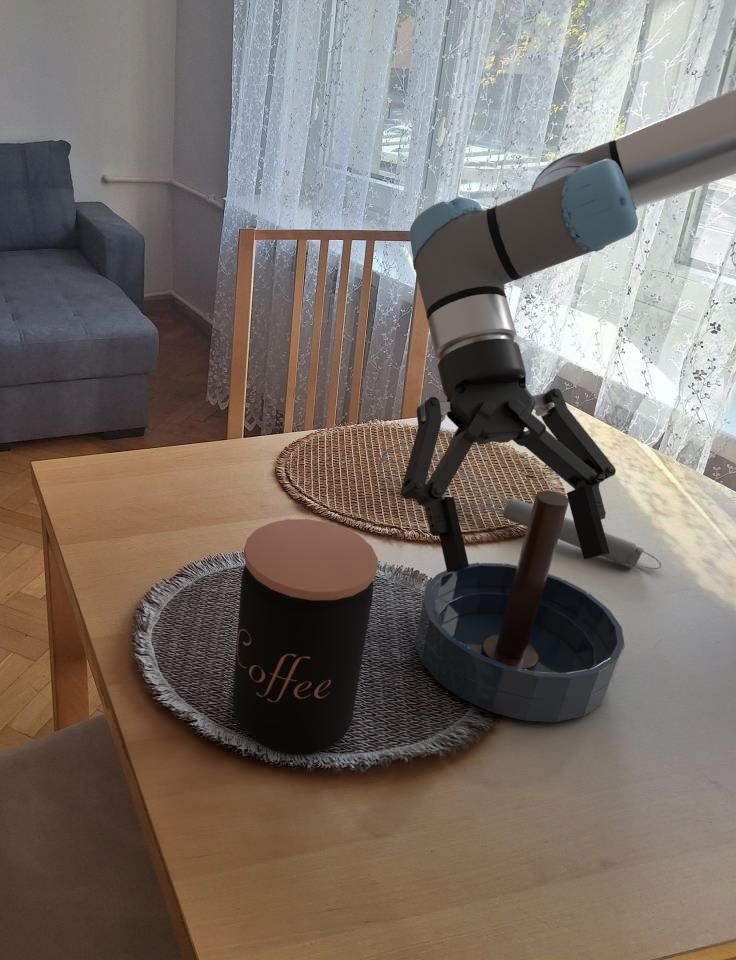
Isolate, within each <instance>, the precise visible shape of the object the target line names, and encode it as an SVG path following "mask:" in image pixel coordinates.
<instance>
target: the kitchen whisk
mask: <svg viewBox="0 0 736 960" xmlns="http://www.w3.org/2000/svg"><path fill="white" fill-rule="evenodd" d="M413 445H414V444H408V443H403V444H395V445H393V446H391V447H389V448H387V449H386V450H385V451H384V452H383V454H382V457H380V458H378V464H377V467H376V468H377V471H378V474H379V475H380V477H381V478H382V480H383V481H384V483H386V484H387V486H388V487H390V488H391V489H393V490H395V491H397V492H398V493H400V494H401V490H398V489H397V488H399V489H401V488H402V486H399V485H397V484H395V483H394V482H391V481H390V480H388V479H387V478H386V477H385V476H384V475H383V473H382V470H381V467H383V469H385V471H386V472H387V473H388V474H389V475H390V476H391V477H392V478H394V479H396V480H397V481H399V482H400V483H402V484H403V481H402V480H400V478H397V477H396V476H394V474H392V473H390V471H389V470H388V469H387V468H386V466H385V465H387V466H389V467H391V468H394V469H397V470H399V471H402V472H404V473H406V470H404V469H401V468H399V467H396V466H394V465H391V464H390V463H387V462H385V461H388V462H392V463H396V464H398V465H401V466H405V467H407V466H408V464H404V463H402V462H398V461H395V460H392V459H388V458H385V457H386V456H387V455H388V454H390V453H394V452H400V453H405V454H408V455H411V452H412V450H410V449H393V448H395V447H399V446H401V447H403V446H410V447H413ZM433 455H437V456H438V457H441V458H442V457H443V455H441V454H439V453H437V452H435V451H434V453H433ZM384 460H385V461H384ZM433 460H436V461H437V462H440V460H441V459H438V458H436V457H432V460H431V464H434V465H436V466H438V464H439V463H436V462H434V461H433ZM460 468H461V470H460ZM462 470H463V471H462ZM464 471H465V472H467V473H468V474H467V473H465V472H464ZM457 472H459V473H461V474H463V475H464V476H467V478H466V477H464V476H462V475H460V474H459V473H456V474H455V476H458V477H460V478H462V479H463V480H466V481H467V482H469V483H471V484H473V485H474V486H476V487H478V488H480V489H482V490H483V491H485V492H486V493H488V494H490V495H491V496H493V497H495V498H497V499H498V500H500V501H501V502H499V501H497V500H495V499H492V498H490V497H487V496H485V495H483V494H480V493H478V492H475V491H473V490H471V489H468V488H466V487H463V486H461V485H458V484H457V483H455V482H451V483H450V485H454V486H456V487H458V488H461V489H464V490H465V491H468V492H471V493H473V494H475V495H478V496H475V495H473V494H469V493H467V492H464V491H461V490H458V489H456V488H453V487H449V486H448V488H447V489H449V490H453V491H455V492H458V493H461V494H464V495H466V496H469V497H472V498H476V499H478V500H481V501H484V502H485V503H490V504H493V505H495V506H499V507H501V508H504V509H500V508H495V507H489V506H484V505H479V504H474V503H470V502H465V501H461V500H457V499H454V501H455V505H458V506H456V509H460V510H465V511H474V512H483V513H484V512H485V513H493V514H494V513H495V514H503V515H502V518H504V519H506V520H508V521H511V522H513V523H516V524H519V525H520V526H524V527H526V528H527V527H528V523H529V520H530V516H531V512H532V508H533V505H534V504H531V503H528V502H526V501H523V500H520V499H517V498H514V497H511V498H510V500H509V499H507V498H506V497H505V496H504V495H502V494H501V493H500V492H499V491H497V490H496V489H494V488H493V487H491V485H489V484H488V483H487V482H485V481H483V480H482V479H480V478H479V476H476V475H475V474H473V473H472V472H471V471H469V470H468V469H465V468H464V467H463V466H461V465H460V467H459V469H458V470H457ZM469 474H470V475H471V476H470V475H469ZM428 476H430V477H431V476H432V474H431V473H429V472H428ZM472 476H473V477H472ZM474 477H475V478H476V479H475V478H474ZM468 478H469V479H468ZM470 479H471V480H473V481H475V482H476V483H475V482H473V481H471V480H470ZM478 480H479V481H478ZM428 481H429V479H428V478H427V479H426V482H428ZM389 483H390V484H389ZM477 483H478V484H477ZM479 484H480V485H481V486H480V485H479ZM394 486H395V487H397V488H395V487H394ZM482 486H483V487H484V488H483V487H482ZM485 488H486V489H485ZM479 496H480V497H479ZM442 497H443V499H444V498H446V496H442ZM481 497H483V498H481ZM486 499H487V500H486ZM502 502H503V503H502ZM504 503H505V504H504ZM506 504H507V505H506ZM459 506H465V508H464V507H459ZM466 507H470V508H466ZM472 508H473V509H472ZM474 508H475V509H474ZM604 533H605V537H606V541H607V545H608V548H609V552H610V553H608V554H605V555H602V556H601V557H603V558H604V559H608V560H610V561H613V562H616V563H618V564H621V565H623V566H626V565H628V566H630V567H633V568H635V567H638V568H644V569H649V570H658V569H660V568H661V567H662V563H661V561H660V560H659V559H658V558H656V557H655V556H654V555H651V554H650V553H648V552H646V551H645V550H644V548H642V547H640V546H638V545H636V543H634V542H631V541H628V540H626V539H623V538H621V537H618V536H615V535H612V534H610V533H608V532H605V531H604ZM559 540H560V541H562V542H565V543H566V544H570V545H572V546H574V547H577V548H580V549H581V547H580V543H579V539H578V535H577V531H576V528H575V524H574V520H573V519H571V518H567V517H564V521H563V524H562V528H561V531H560V535H559V538H558V541H559ZM643 553H644V554H646V555H648V556H649V557H651V558H652V559H654V560H655V561H657V562H658V564H659V566H658V567H648V566H643V565H639V564H638V562H639V560H640V559H641V556H642V554H643Z"/></svg>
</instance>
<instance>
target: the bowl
mask: <svg viewBox="0 0 736 960" xmlns="http://www.w3.org/2000/svg"><path fill="white" fill-rule="evenodd" d="M516 569H517V565H516V564H511V563H506V562H505V563H503V562H501V563H500V562H472V563H469V567H466V568H464V569H461V570H458V571H455V572H447V569H446V570H444V571H441V572H439V573H437V574H435V576H434V577H433V578H432V579H431V581H429V582H428V584H427V585H426V586H425V588H424V593H423V598H422V603H421V607H420V613H419V617H418V621H417V628H416V634H415V639H414V645H415V649H416V652H417V654H418V657H419V660H420V662H421V664H422V665H423V666H424V667H425V669H426V670H427V671H428V672H429V673H430V675H431V676H432V677H433V678H434V679H435V681H437V682H438V683H439V684H440V685H441V686H443V687H444V688H445V689H447V690H448V691H450V692H451V693H453V694H454V695H455V696H457V697H458V698H460V699H462V700H464V701H466V702H468V703H470V704H473V705H475V706H476V707H479V708H482V709H484V710H485V711H488V712H491V713H493V714H497V715H502V716H505V717H509V718H513V719H517V720H521V721H525V722H526V721H527V722H545V723H546V722H547V723H548V722H549V723H556V722H557V723H559V722H562V721H567V720H572V719H573V720H574V719H578V718H583V717H585V716H587V715H588V714H589V713H591V712H593V711H594V710H596V709H598V708H599V707H601V706H602V705H603V702H604V701H605V698H606V697H607V695H608V693H609V690H610V688H611V686H612V683H613V680H614V677H615V675H616V672H617V668H618V667H619V663H620V662H621V661H620V660H621V658H622V655H623V652H624V649H625V645H626V644H625V640H624V638H625V637H624V632H623V627H622V625H621V624H620V622H619V621H618V620H617V618H616V617H615V615H614V614H613V613H612V610H610V609H609V608H608V607H607V606H606V605H604V603H602V602H601V601H600V600H599V599H597V598H596V597H595V596H594V595H592V594H591V593H590V592H589V591H586V590H585V589H583V588H580V587H579V586H578V585H575V584H574V583H571V582H570V581H568V580H566V579H564V578H561V577H558V576H556V575H553V574H551V573H548V576H547V580H546V583H545V587H544V590H543V594H542V597H541V601H540V604H539V608H538V611H537V615H536V618H535V622H534V625H533V629H532V632H531V636H530V639H529V642H528V643H529V644H530V645H531V646H532V647H533V648H534V649H535V650H536V652H537V654H538V662H537V666H536V668H535V669H534V670H533V671H530V670H526V669H522V668H517V667H513V666H509V665H505V664H502V663H500V662H497V661H495V660H493V659H490V658H488V657H486V656H483V655H482V653H481V648H482V644H483V641H484V640H485V639H486V638H488V637H489V636H492V635H499V633H500V629H501V626H502V622H503V618H504V614H505V610H506V607H507V603H508V599H509V595H510V591H511V588H512V584H513V580H514V576H515V573H516Z"/></svg>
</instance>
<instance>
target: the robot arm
mask: <svg viewBox="0 0 736 960" xmlns="http://www.w3.org/2000/svg"><path fill="white" fill-rule="evenodd" d="M735 174H736V88H735V89H732V90H730V91H728V92H725V93H723V94H720V95H717V96H716V97H713V98H710V99H707V100H706V101H703V102H701V103H699V104H696V105H693V106H691V107H689V108H686V109H684V110H681V111H678V112H677V113H674V114H672V115H669V116H667V117H664V118H662V119H659V120H656V121H654V122H653V123H650V124H648V125H645V126H643V127H640V128H638V129H636V130H633V131H630V132H627V133H626V134H623V135H621V136H618V137H616V138H615V139H613V140H610V141H608V142H605V143H601V144H600V145H597V146H595V147H592V148H589V149H588V150H585V151H583V152H582V151H581V152H580V151H579V152H572V153H568V154H565V155H563V156H561V157H559V158H557V159H555V160H553V161H551V162H549V163H548V165H546V166H545V168H543V169H542V170H541V171H540V172H539V174H538V175H537V177H536V178H535V180H534V182H533V184H532V186H531V189H530V190H529V191H527V192H524V193H522V194H520V195H518V196H516V197H514V198H512V199H509V200H507V201H505V202H503V203H500V204H499V205H495V206H493V207H491V208H486V209H484V207H483V204H481V203H480V201H478V200H476V199H474V198H470V197H456V198H454V199H452V200H449V201H444V200H443V201H440V202H438V203H435V204H433V205H431V206H429V207H428V208H425V210H423V211H421V212H420V214H418V216H417V217H416V218H415V219H414V220H413V221H412V223H411V225H410V229H409V241H410V247H411V253H412V266H413V270H414V271H415V275H416V279H417V283H418V287H419V290H420V294H421V298H422V302H423V306H424V310H425V314H426V315H425V316H426V319H427V325H428V329H429V333H430V337H431V342H432V347H433V351H434V354H435V358H436V359H438V360H439V362H438V363H437V370H438V373H439V379H440V383H441V387H442V392H443V394H444V396H445V397H446V401H440V400H439V398H438V397H436V396H430V397H429V398H427V399H426V400H425V401H423V402H422V403H421V404H420V405H419V406H417V408H416V420H417V425H418V426H417V431H416V435H415V438H414V441H413V444H412V445H413V446H412V449H411V451H412V452H410V453H411V454H410V456H409V459H408V463H407V466H406V470H405V471H406V472H405V475H404V479H403V481H402V482H403V483H402V485H401V487H402V488H400V492H401V493H400V495H401V497H402V498H403V499H405V500H410V499H413V500H416V502H417V505H419V506H421V507H424V511H425V515H426V519H427V524H428V529H429V533H430V534H431V536H432V537H439V541H440V547H441V551H442V555H443V559H444V564H445V569H446V570H447V572H455V571H458V570H461V569H464V568H466V567H469V564H470V563H469V559H468V555H467V551H466V546H465V541H464V537H463V532H462V528H461V524H460V519H459V515H458V510H457V508H456V507H457V506H456V504H455V503H456V501H454V500H455V497H454V496H448V497H446V496H445V497H446V498H443V497H444V495H445V493H446V491H447V490H448V489H449V488H448V487H449V486H450V485H451V483H452V481H453V479H454V478H455V476H456V474H457V472H458V470H460V466H461V465H462V463H463V462H464V460H465V458H466V456H467V454H468V453H469V451H470V449H471V448H472V446H473V444H474V443H476V444H477V446H481V445H486V444H487V445H488V444H489V443H492V442H493V443H498V444H506V443H509V442H511V441H513V442H514V443H515V444H516V445H518V446H520V447H525V449H527V450H528V451H529V452H530V453H532V454H533V455H534V456H535V457H536V458H538V459H539V460H540V461H541V462H542V463H543V464H544V465H545V466H547V467H548V468H549V469H551V470H552V471H553V472H554V473H555V474H556V475H557V476H559V477H560V478H561V479H562V480H563V481H564V482H566V483H567V484H568V485H569V486H570V487H571V488H573V490H570V491H568V492H566V497H567V498H568V500H569V503H568V506H569V508H570V513H571V516H572V520H573V521H574V524H575V528H576V531H577V535H578V539H579V543H580V547H581V548H580V547H579V548H580V550H581V554H582V558H583V560H588V559H589V560H591V559H595V558H599V557H602V555H605V554H608V553H610V552H609V548H608V545H607V541H606V537H605V533H606V532H605V529H604V528H603V527H604V525H603V523H602V520H604V519H606V513H607V512H606V509H605V506H604V502H603V498H602V494H601V491H600V484H601V483H602V482H604V481H605V480H607V479H609V478H611V477H613V476H615V475H616V472H617V470H616V468H615V466H614V465H613V463H612V461H610V460H609V458H608V457H607V456H606V454H605V453H604V452H603V451H602V449H601V448H600V447H599V446H598V444H597V443H596V442H595V440H594V439H593V438H592V437H591V436H590V434H589V433H588V432H587V430H586V429H585V428H584V427H583V425H582V424H581V423H580V421H578V419H577V418H576V417H575V416H574V414H573V413H572V412H571V410H570V409H569V408H568V406H567V402H566V401H565V398H564V396H563V395H564V394H563V392H562V391H561V389H559V388H557V387H553V388H551V389H549V390H548V391H546V392H544V393H538V394H534V395H533V394H532V393H531V392H530V391H529V389H528V388H527V384H526V383H527V381H526V380H527V371H526V368H525V363H524V360H523V355H522V352H521V348H520V345H519V343H518V342H516V341H515V340H516V338H517V331H516V326H515V324H514V323H515V322H514V320H513V315H512V313H511V309H510V306H509V302H508V297H507V295H506V292H505V291H506V290H505V285H506V284H509V283H512V282H515V281H518V280H520V279H523V278H524V277H527V276H530V275H533V274H536V273H538V272H540V271H544V270H547V269H549V268H551V267H555V266H557V265H560V264H562V263H565V262H568V261H571V260H574V259H576V258H579V257H581V256H584V255H587V254H590V253H592V252H599V251H602V250H604V249H605V248H606V247H607V246H610V245H611V244H614V243H616V242H619V241H620V240H623V239H626V238H627V237H630V236H631V235H632V234H634V233H635V232H636V230H637V228H638V225H639V218H638V215H637V211H636V210H638V209H641V208H644V207H646V206H649V205H653V204H655V203H657V202H661V201H663V200H665V199H666V200H667V199H669V198H671V197H674V196H677V195H680V194H683V193H685V192H688V191H691V190H694V189H696V188H700V187H702V186H705V185H708V184H711V183H713V182H716V181H718V180H722V179H724V178H725V179H726V178H727V177H729V176H733V175H735ZM533 411H534V413H535V415H534V414H533ZM536 416H537V417H536ZM446 417H447V418H448V419H449V420H450V421H451V423H453V424H454V425H455V426H456V427H457V428H456V431H455V432H454V434H453V435H452V437H451V439H450V441H449V442H448V447H447V449H445V452H444V454H443V455H442V456H443V457H441V459H439V460H440V461H438V463H437V464H438V465H436V467H435V468H434V471H433V472H432V474H431V475H432V476H431V475H430V478H429V479H428V476H429V474H428V473H429V471H430V468H431V464H432V463H431V461H433V458H434V457H433V456H434V452H435V448H436V445H437V441H438V439H439V434H440V431H441V426H442V422H443V421H445V419H446ZM538 417H540V418H541V420H542V421H541V420H540V419H539V418H538ZM525 429H527V430H526V431H525ZM547 429H548V430H549V431H548V430H547ZM432 457H433V458H432ZM426 479H428V480H429V481H427V480H426ZM604 532H605V533H604Z"/></svg>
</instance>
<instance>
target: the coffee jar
mask: <svg viewBox="0 0 736 960" xmlns="http://www.w3.org/2000/svg"><path fill="white" fill-rule="evenodd" d="M243 559H244V563H245V564H244V567H243V570H242V572H241V573H242V574H241V579H240V580H241V581H240V591H239V592H240V593H239V605H238V607H239V608H238V619H237V634H236V635H237V636H236V646H235V647H236V648H235V661H234V673H233V675H234V676H233V686H232V705H233V711H234V715H235V716H236V718H237V720H238V722H239V723H240V724H241V726H242V728H243V729H244V730H245V731H246V732H247V734H248V735H249V736H251V737H252V738H253V739H254V740H255V741H256V742H258V743H259V744H260V745H262V746H264V747H266V748H268V749H270V750H272V751H274V752H277V753H282V754H287V755H292V756H299V755H300V756H301V755H303V756H305V755H309V756H310V755H312V754H316V753H317V754H318V753H320V752H323V751H326V750H327V749H329V748H330V747H332V746H334V745H335V744H336V743H339V742H340V741H341V740H342V739H343V738H344V737H345V735H346V734H347V733H348V731H349V729H350V728H351V726H352V722H353V717H354V710H355V705H356V699H357V692H358V686H359V681H360V675H361V669H362V665H363V664H362V663H363V657H364V651H365V646H366V640H367V633H368V627H369V621H370V615H371V609H372V604H373V597H374V579H375V578H376V576H377V575H376V574H377V571H378V561H379V559H378V556H377V554H376V552H375V550H374V548H373V546H372V545H371V544H370V543H368V541H367V540H366V539H364V537H362V536H361V535H360V534H357V533H356V532H354V531H352V530H350V529H348V528H346V527H345V526H344V527H343V526H341V525H337V524H334V523H331V522H329V521H323V520H317V519H316V520H315V519H310V518H309V519H308V518H290V519H284V520H279V521H272V522H269V523H267V524H265V525H262V526H261V527H258V528H257V529H255V530H254V531H253V532H252V533H251V534H250V535H249V536H248V537H247V538H246V541H245V544H244V548H243Z"/></svg>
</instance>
